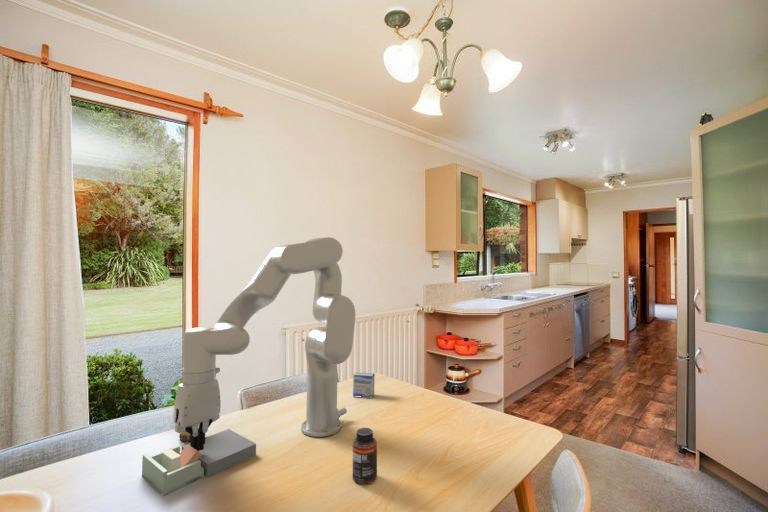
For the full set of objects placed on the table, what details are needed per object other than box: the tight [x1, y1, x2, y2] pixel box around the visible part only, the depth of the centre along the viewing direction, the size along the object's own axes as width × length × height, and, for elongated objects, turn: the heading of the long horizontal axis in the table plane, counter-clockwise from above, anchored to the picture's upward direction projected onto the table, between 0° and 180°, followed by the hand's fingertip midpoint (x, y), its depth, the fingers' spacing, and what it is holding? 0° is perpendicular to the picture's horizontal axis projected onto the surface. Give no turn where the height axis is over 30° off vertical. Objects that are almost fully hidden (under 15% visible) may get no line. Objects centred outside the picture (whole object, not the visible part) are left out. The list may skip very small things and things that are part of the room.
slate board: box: [181, 428, 257, 478], centre depth 95 cm, size 13×14×3 cm
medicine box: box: [352, 371, 376, 398], centre depth 141 cm, size 8×4×9 cm, turn 81°
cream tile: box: [162, 448, 181, 473], centre depth 85 cm, size 5×5×2 cm
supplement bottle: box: [352, 427, 378, 486], centre depth 86 cm, size 6×6×11 cm
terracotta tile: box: [179, 443, 202, 468], centre depth 88 cm, size 5×5×2 cm
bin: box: [141, 445, 205, 496], centre depth 86 cm, size 9×12×5 cm
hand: (197, 448), depth 90 cm, fingers closed
